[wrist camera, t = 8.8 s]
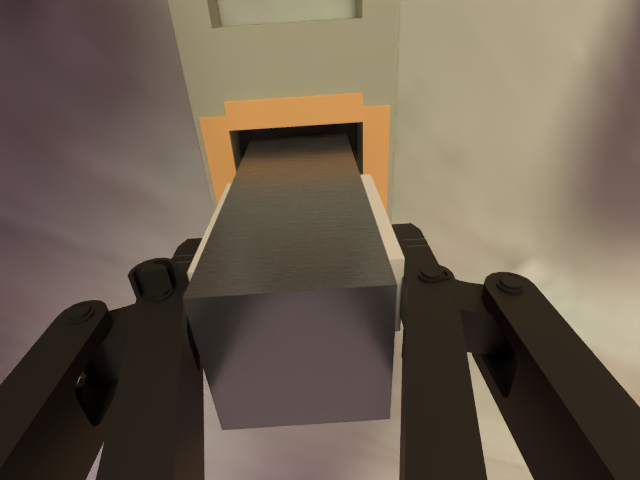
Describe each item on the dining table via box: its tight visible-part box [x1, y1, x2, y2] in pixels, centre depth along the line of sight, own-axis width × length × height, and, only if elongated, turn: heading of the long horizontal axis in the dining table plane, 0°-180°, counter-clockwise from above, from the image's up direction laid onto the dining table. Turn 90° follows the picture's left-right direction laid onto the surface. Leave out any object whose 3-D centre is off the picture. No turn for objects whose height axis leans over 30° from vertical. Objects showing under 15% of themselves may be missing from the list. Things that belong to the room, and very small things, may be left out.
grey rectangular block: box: [182, 133, 397, 430], centre depth 15 cm, size 5×5×12 cm
